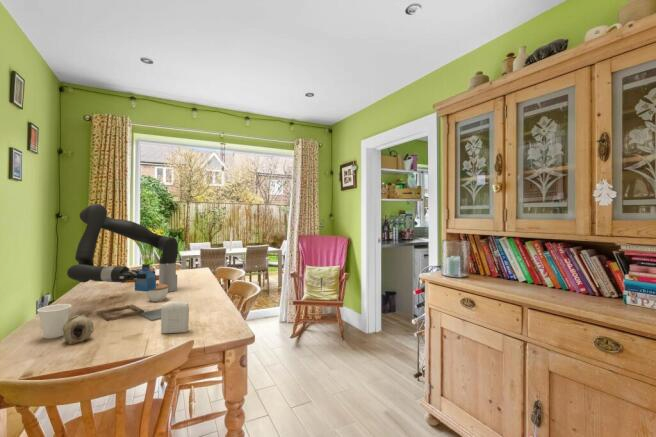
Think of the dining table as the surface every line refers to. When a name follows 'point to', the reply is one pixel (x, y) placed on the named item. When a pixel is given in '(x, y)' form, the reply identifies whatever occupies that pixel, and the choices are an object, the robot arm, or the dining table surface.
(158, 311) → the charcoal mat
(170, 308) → the photo printer
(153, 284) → the perfume bottle
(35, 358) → the dining table surface
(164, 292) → the lidded jar
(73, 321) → the hollow beige lump
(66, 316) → the cup
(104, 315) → the walnut collar
